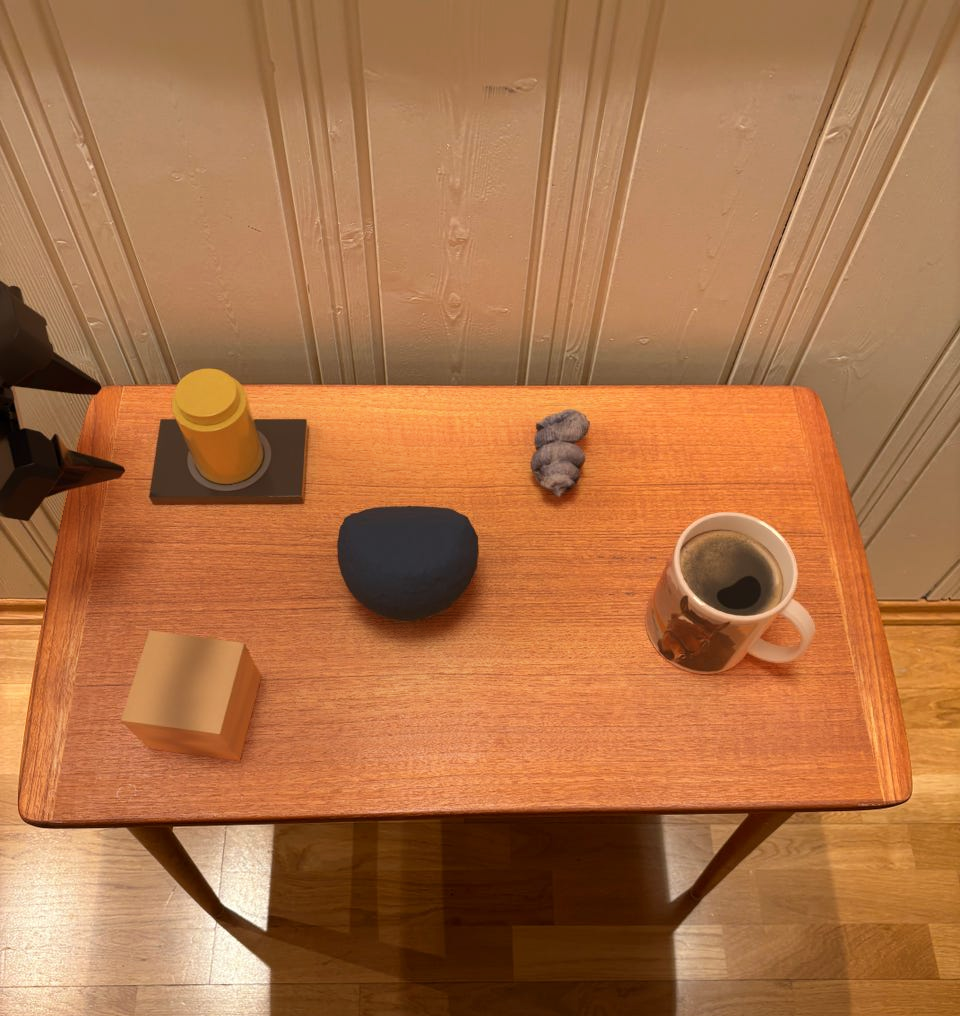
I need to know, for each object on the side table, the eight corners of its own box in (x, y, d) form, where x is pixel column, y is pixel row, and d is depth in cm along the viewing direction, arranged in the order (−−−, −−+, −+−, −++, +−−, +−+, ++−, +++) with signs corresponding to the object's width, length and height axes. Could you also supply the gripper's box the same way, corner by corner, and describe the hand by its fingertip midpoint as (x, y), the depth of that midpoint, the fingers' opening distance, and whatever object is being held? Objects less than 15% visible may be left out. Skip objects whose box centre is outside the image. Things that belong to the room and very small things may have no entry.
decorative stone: (488, 630, 77) (494, 576, 68) (355, 654, 76) (343, 602, 67) (462, 520, 82) (465, 455, 73) (336, 539, 80) (322, 476, 71)
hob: (152, 504, 81) (148, 496, 80) (163, 426, 85) (159, 417, 84) (303, 503, 82) (301, 495, 81) (308, 426, 86) (306, 417, 84)
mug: (731, 563, 81) (772, 496, 71) (790, 677, 76) (842, 622, 66) (627, 592, 79) (655, 528, 69) (681, 711, 75) (718, 660, 65)
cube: (148, 748, 71) (119, 720, 65) (174, 664, 75) (149, 629, 68) (239, 761, 71) (219, 734, 65) (261, 676, 74) (244, 642, 68)
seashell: (551, 431, 88) (551, 517, 84) (522, 403, 84) (521, 491, 80) (597, 413, 85) (600, 501, 81) (570, 383, 81) (571, 473, 77)
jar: (214, 495, 80) (188, 434, 72) (183, 447, 82) (154, 382, 74) (275, 464, 82) (257, 401, 74) (243, 418, 84) (222, 351, 76)
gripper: (-38, 396, 54) (187, 455, 66) (-78, 196, 60) (132, 283, 73) (-101, 505, 59) (117, 540, 71) (-131, 311, 66) (72, 373, 78)
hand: (110, 430), depth 73 cm, fingers open, 9 cm apart
